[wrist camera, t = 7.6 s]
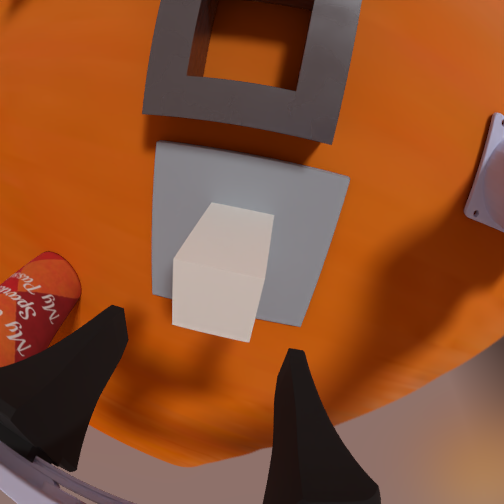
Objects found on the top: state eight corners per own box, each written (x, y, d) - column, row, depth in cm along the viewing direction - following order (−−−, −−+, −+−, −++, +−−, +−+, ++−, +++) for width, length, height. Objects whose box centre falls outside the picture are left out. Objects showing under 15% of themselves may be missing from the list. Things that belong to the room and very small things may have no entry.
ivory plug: (274, 215, 19) (264, 278, 13) (262, 268, 21) (248, 342, 15) (211, 202, 19) (173, 258, 13) (205, 255, 21) (172, 324, 15)
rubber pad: (348, 176, 17) (349, 178, 17) (300, 321, 23) (300, 326, 23) (160, 140, 18) (156, 141, 17) (155, 289, 24) (152, 293, 23)
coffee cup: (95, 265, 23) (-11, 397, 10) (88, 323, 27) (17, 435, 14) (29, 225, 22) (-81, 322, 9) (31, 286, 26) (-48, 378, 13)
